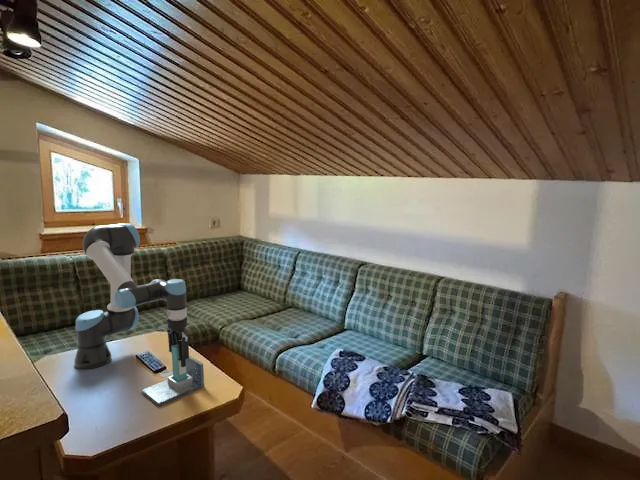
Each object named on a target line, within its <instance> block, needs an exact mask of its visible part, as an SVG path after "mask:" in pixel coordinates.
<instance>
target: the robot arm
mask: <svg viewBox="0 0 640 480" xmlns="http://www.w3.org/2000/svg"><path fill="white" fill-rule="evenodd" d="M140 244H141V238H140V233H139V231H138V229H137V227H136V226H135V225H134V224H132V223H116V224H107V225H106V224H105V225H97V226H93V227H92V228H91V229H89V230H88V231H87V232H86V233H85V235H84V236H83V239H82V250H83V252H84V254H85V255H86V256H87V258H88V259H89V260H93V262H94V264H95V265H96V266H97V267H98V268H99V271H101V273H102V274H103V276H104V277H105V278H106V280H107V281H108V283H109V284H110V303H108V304H107V306H106V311H103V310H102V309H95V310H89V311H85V312H84V313H81V314H80V315H78V316H77V317H76V319H75V327H74V329H75V333H76V335H75V336H76V345H77V350H76V353H75V358H74V359H73V360H74V367H75V368H77V369H80V370H89V369H97V368H99V367H102V366H105V365H106V364H108V363H109V362H111V361H112V352H111V350H110V349H109V346H108V344H107V337H110V336H115V335H118V334H120V333H121V334H122V333H125V332H128V331H130V330H133V329H135V328H136V327H137V325H138V323H139V320H140V315H139V309H138V308H137V306H141V305H145V304H148V303H153V302H157V301H161V300H162V301H165V302H166V315H167V328H168V329H167V328H166V333H167V337H168V338H167V339H168V352H169V353H171V355H172V347H171V346H172V345H176V344H178V351H179V357H180V359H178V360H179V374H180V375H181V374H184V373H186V359H187V358H189V356H190V352H189V351H190V347H189V345H190V344H189V342H190V335H186V331H185V328H186V327H188V317H187V316H188V314H187V313H188V311H187V309H188V308H187V288H186V286H187V285H186V281H185V280H184V279H181V278H179V279H178V278H172V279H169V280H167V281H166V280H165V279H158V278H156V279H153V280H152V281H150V282H149V283H146V284H141V285H140V284H139V285H137V284H136V282H135V280H134V279H133V278H132V277H131V276H132V275H131V274H132V273H131V272H132V267H131V266H132V265H131V263H132V262H131V261H132V256H133V255H134V254H135V248H138V247H139V246H140Z"/></svg>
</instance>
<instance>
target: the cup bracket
mask: <svg viewBox="0 0 640 480" xmlns="http://www.w3.org/2000/svg"><path fill="white" fill-rule="evenodd" d="M186 369H187V378H186V379H184V380H181V381H179V382H176V381H175V380H173V375H171V376H167V379H166V380H163V381H161V382H159V383H155V384H153V385H150V386H148V387H146V388H143V389H141V394H142V395H144V396H145V397H146V398H147V399H149V400H150V401H151V402H152V403H154V404H155V406H157V407H162V406H165V405H166V404H169V403H171V402H173V401H175V400H176V401H177V399H180V398H182V397H184V396H187V395H189V394H191V393H194V392H196V391H198V390H200V389H203V388H205V376H204V363H203V362H201V361H199V360H197V359H196V358H194V357H193V356H190V355H189V358H187V359H186Z"/></svg>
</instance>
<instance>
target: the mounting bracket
mask: <svg viewBox="0 0 640 480" xmlns="http://www.w3.org/2000/svg"><path fill="white" fill-rule="evenodd" d="M159 375H160V377H161V378H165V377H167V378H168V377H170V376H172V375H173V371H170V369H164V370H163V371H162V373H160V374H159Z"/></svg>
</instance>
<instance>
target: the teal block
mask: <svg viewBox="0 0 640 480" xmlns="http://www.w3.org/2000/svg"><path fill="white" fill-rule="evenodd" d="M171 347H172V348H171V349H172V354H171V362H172V364H171V365H172V372H173V380H175V381H176V382H179V381H181V380H184V379H186V378H187V369H186V373H184V374H181V375H180V374H179V360H178V359H180V357H179V351H178V344H176V345H172V346H171Z"/></svg>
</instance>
